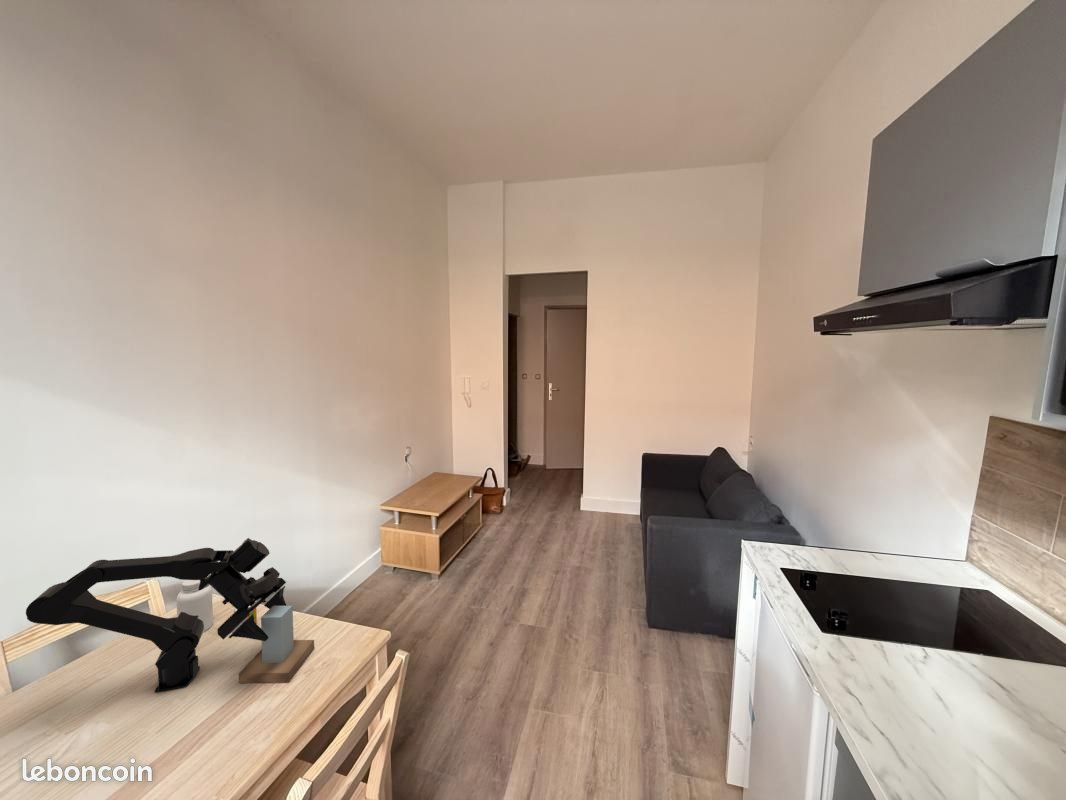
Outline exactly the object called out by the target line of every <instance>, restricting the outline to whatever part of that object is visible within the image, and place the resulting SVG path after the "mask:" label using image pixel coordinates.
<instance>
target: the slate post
mask: <svg viewBox="0 0 1066 800" xmlns="http://www.w3.org/2000/svg"><path fill="white" fill-rule="evenodd" d="M293 612H294V611H293V605H287V606H273V607H271V608H270V609H269V608H268V610H267V611H266V612H265V613H264V614H263V615H262V616H261V617H260V628H261V629H262V630H263V631H264V632H265V633H266V634H267V636H268V637H269V638H268V639H267V640H266V641H261V649H262V663H283V661H284V660H285V659H286V658H287V656H288V655H289V654H290V653H291V652H292V650H293V649H294V641H293V640H294V613H293Z"/></svg>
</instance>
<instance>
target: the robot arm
mask: <svg viewBox="0 0 1066 800" xmlns="http://www.w3.org/2000/svg"><path fill="white" fill-rule="evenodd" d="M270 553H271V552H270V550H269V549H268V547H266V545H265V544H263V543H262V542H261V541H257V540H255V539H254V540H252V539H251V538H249V537H248V538H246V539H245V540H244V541H243V542H242V543H241V545H239V546H238V547H237V548H236V549H235V550H232V549H230V550H229V549H228V550H215V549H214V548H212V547H202V548H197V549H192V550H187V551H185V552H182V553H179V554H175V555H167V556H153V557H150V556H149V557H141V558H140V557H138V558H126V559H125V558H124V559H123V558H122V559H110V560H108V559H98V560H95V561H92V563H91V564H89V565H88V566H87V567H86V568H84V569H82V570H81V571H80V572H78V573H77V574H75V575H73V576H71V577H70V578H69V579H68V580H66V581H62V582H59V583H57V584H53V585H51V586H49V587H48V588H47V589H46V590H45V591H43V592H42V593H41V594H40V595H38V597H36V598H35V599H34V600H33V601H32V602H30V603H29V604H28V605H27V607H26V608H25V609H26V610H25V616H26V619H27V621H29V622H30V623H33V624H40V625H50V626H60V625H61V626H62V625H70V624H82V625H85V626H89V627H94V628H98V629H102V630H105V631H110V632H114V633H118V634H123V635H127V636H130V637H134V638H139V639H143V640H147V641H150V642H152V644H154V645H155V646H156V647H157V648H158V649H159V650H160V651H161V652H160V653H159V656H158V657H157V660H156V662H155V664H154V665H155V666H156V668H157V677H158V680H157V681H158V685H157V686H156V687H155V688H154V693H158V692H160V693H161V692H164V691H171V690H176V689H181V688H186V687H187V686H188V685H189V684H190V683H191V682H192V680H193V679H194V678H195V676H196V675H197V674H198V672H199V671H200V669H201V666H200V665H199V656H198V655H196V651H197V650H196V649H197V647H198V645H199V642H200V641H201V637H202V635H203V633H204V632H203V630H204V624H203V621H202V620H200V619H198V616H193V615H189V614H187V613H185V612H180V614H179V616H178V617H177V616H176V617H169V618H168V617H162V616H158V615H155V614H151V613H149V612H148V613H147V612H145V611H140V610H137V609H133V608H130V607H129V608H128V607H126V606H122V605H119V604H114V603H111V602H107V601H104V600H101V599H97V598H96V596H95V595H93V594H92V593H91V592H90V591H89V589H90V588H92V587H94V585H96V584H99V583H108V582H109V583H110V582H118V581H119V582H120V581H129V580H132V581H133V580H141V579H153V578H154V579H155V578H174V579H177V580H184V581H185V580H200V585H199V588H198V590H202V589H204V588H206V587H208V586H209V585H210V586H211V588H212V589H213V590H215V592H217V593H218V594H219V595H220V596H221V598H223V599H224V600H222V602H221V603H222V604H223V605H224V606H225V605H226V604H227V605H228V603H229V604H230V605H231V606H232V607H233V609H234V608H236V609H237V611H236V612H235V613H234V612H233V613H232V615H230V616H229V617H228V618H227V619H226V620H225V621H224V622H223V623H222V624H221V625H220V626H219V627H218V628H217V629H216V630H217V635H218V637H220V638H221V639H222V640H224V639H226V638H227V637H228V638H229V639H231V638H232V637H233V638H242V639H243V638H245V639H250V640H255V641H256V640H257V641H261V642H262V641H266V640H267V639H268V638H269V637H268V636H267V634H266V633H265V632H264V631H263V630H262V629H261V626H259V624H258V623H257V624H256V623H255V622H254V614H252V615H251V616H250V617H248V616H249V613H250V612H252V611H253V610H254V609H255V608H256V609H257V607H259V606H260V604H262V603H265V604H264V605H263V607H265V608H267V609H268V610H269V609H270V608H271V607H273V606H288V605H287V603H286V601H285V598H284V592H285V588H286V586H285V585H286V583H287V581H286V580H285V579H284V578H282V577H280V575H281V574H280V572H279V571H278V570H277V569H276V568H274V567H273V566H272V567H269V568H268V569H266V570H265V571H263V576H261V577H259V578H258V579H255V578H254V577H252V576H250V577H249V578H247V577H245V576H244V575H243V574H246V573H250V572H251V571H253V570H254V569H255V568H256V567H257V566H258V565H259V564H261V562H262V561H264V560H265V559H266V557H268V556H269V555H270ZM249 606H251V607H249Z"/></svg>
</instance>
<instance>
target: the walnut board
mask: <svg viewBox="0 0 1066 800" xmlns="http://www.w3.org/2000/svg"><path fill="white" fill-rule="evenodd" d="M293 641H294V649H293V650H292V652H291V653H290V654H289V655H288V656H287V658H286V659H285V660H284V661H283V663H262V648H261V649H259V651H258V652H257V653H256V654H255V655H254V656H253V658H252V659H251V660H249V662H248V663H247V664H246V665H245V666H244V667H243V668H242V669H241V670H240V672H239V673H238V684H273V683H275V684H277V683H280V684H281V683H288V684H289V683H291V680H292V679H293V677H295V675H296V674H297V672H298V671H299V670H300V668H301V667H302V666H303V665H304V663H305V661H306V660H307V659H308V657H309V656H310V655H311V654H312V653H313V651H314V649H315V639H293Z"/></svg>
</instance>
